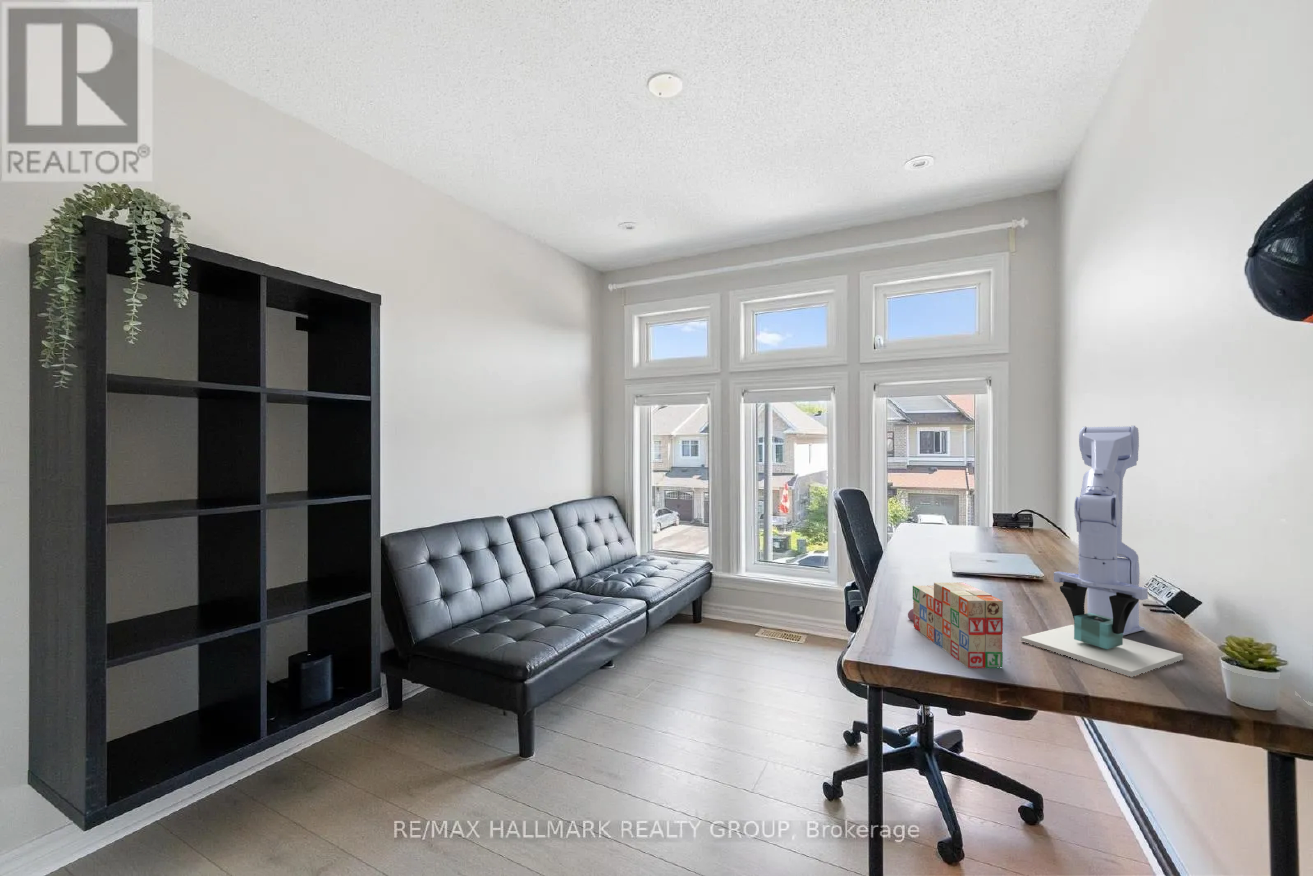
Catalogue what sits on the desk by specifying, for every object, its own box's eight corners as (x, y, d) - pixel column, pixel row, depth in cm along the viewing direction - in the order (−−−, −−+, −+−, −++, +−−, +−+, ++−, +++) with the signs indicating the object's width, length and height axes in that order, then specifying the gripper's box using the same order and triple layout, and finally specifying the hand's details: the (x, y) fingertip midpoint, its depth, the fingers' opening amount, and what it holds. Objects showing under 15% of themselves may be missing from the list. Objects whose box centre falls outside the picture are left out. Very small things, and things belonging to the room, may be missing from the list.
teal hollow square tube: (1089, 635, 106) (1089, 612, 106) (1122, 644, 101) (1122, 621, 101) (1074, 639, 103) (1074, 616, 103) (1107, 649, 99) (1107, 625, 99)
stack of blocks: (912, 627, 115) (912, 571, 115) (941, 628, 115) (941, 571, 115) (968, 669, 94) (967, 599, 94) (1004, 669, 94) (1003, 599, 94)
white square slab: (1072, 629, 114) (1072, 599, 114) (1182, 659, 98) (1182, 625, 98) (1021, 642, 106) (1020, 610, 107) (1131, 677, 90) (1131, 640, 90)
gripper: (1044, 551, 107) (1045, 619, 107) (1133, 566, 94) (1134, 643, 94) (1064, 549, 110) (1065, 614, 110) (1153, 563, 97) (1154, 637, 97)
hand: (1098, 627), depth 102 cm, fingers open, 6 cm apart
